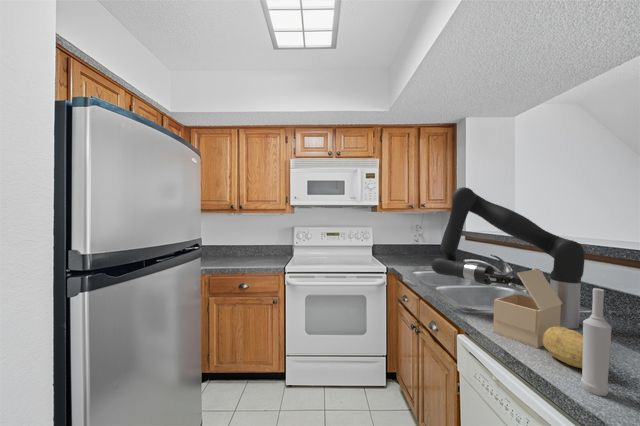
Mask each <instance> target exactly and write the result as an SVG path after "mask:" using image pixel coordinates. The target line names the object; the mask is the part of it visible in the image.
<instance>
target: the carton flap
mask: <svg viewBox="0 0 640 426" xmlns="http://www.w3.org/2000/svg"><path fill="white" fill-rule="evenodd" d="M516 275H517V276H518V278H520V279H521V281H522V282H523V284H524V286H523V287H525V288H526V290H527V292H528V293H529V296H531V297H532V298H533V300H534V301H535V303H536V305H537V306H538V308H539V309H540V311H542V310H545V309H548V308H551V307H554V306H557V305H560V304H563V303H562V302H561V300H560V299H559V297H558V296H557V294H556V293H555V291H554V290H553V289H552V287H551V286H550V283H549V281H548V280H547V278H546V277H545V275H544V273H542V271H541V269H540V268H535V269H531V270H530V269H529V270H524V271H520V272H519V271H517V273H516Z"/></svg>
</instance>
